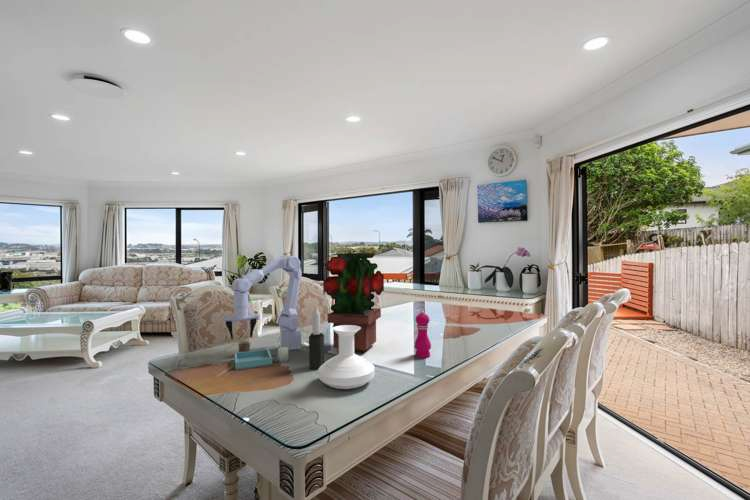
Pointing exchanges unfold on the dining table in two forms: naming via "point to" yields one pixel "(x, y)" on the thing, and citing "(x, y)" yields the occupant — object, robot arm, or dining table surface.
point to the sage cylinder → (283, 354)
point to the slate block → (271, 350)
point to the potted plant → (354, 296)
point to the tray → (252, 359)
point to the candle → (316, 343)
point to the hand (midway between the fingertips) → (241, 337)
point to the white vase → (346, 363)
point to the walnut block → (244, 346)
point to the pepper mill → (422, 336)
